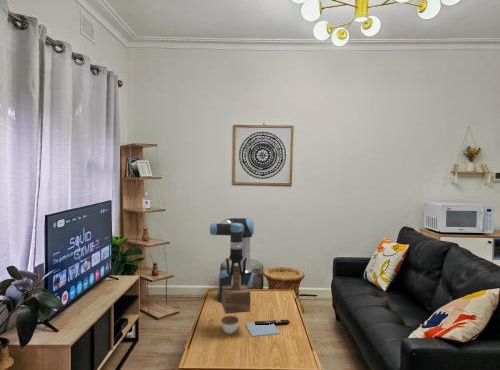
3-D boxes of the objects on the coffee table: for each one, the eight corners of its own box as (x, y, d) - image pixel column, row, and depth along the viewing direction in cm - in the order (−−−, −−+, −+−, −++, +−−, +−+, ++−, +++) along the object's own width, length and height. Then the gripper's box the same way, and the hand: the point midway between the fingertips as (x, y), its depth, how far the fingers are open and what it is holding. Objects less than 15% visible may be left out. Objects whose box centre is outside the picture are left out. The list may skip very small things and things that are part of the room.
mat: (245, 324, 235) (245, 323, 235) (271, 321, 240) (271, 320, 240) (252, 336, 218) (252, 335, 218) (280, 333, 222) (280, 332, 222)
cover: (221, 304, 230) (222, 264, 229) (244, 302, 234) (245, 263, 233) (225, 313, 216) (226, 271, 214) (250, 311, 219) (250, 269, 218)
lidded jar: (229, 326, 232) (229, 312, 232) (241, 331, 225) (241, 316, 225) (217, 331, 224) (217, 317, 224) (230, 337, 217) (230, 322, 217)
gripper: (223, 250, 217) (223, 287, 218) (251, 248, 221) (250, 286, 222) (221, 247, 225) (221, 283, 226) (248, 246, 228) (247, 282, 230)
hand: (235, 284), depth 224 cm, fingers closed on cover, 4 cm apart
